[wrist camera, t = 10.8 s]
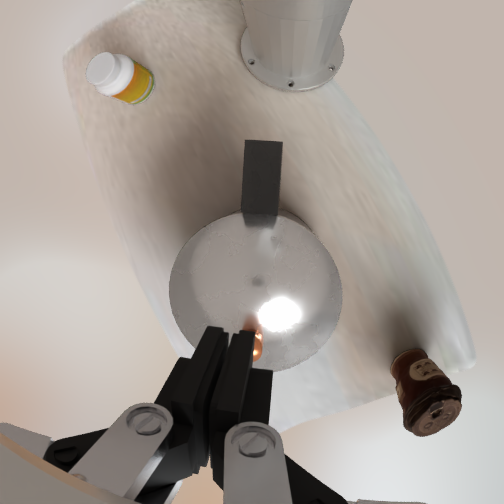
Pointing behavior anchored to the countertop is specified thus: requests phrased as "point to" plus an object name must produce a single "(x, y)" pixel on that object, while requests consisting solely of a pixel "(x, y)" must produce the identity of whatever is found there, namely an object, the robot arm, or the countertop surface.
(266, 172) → the cooker lid
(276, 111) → the countertop surface
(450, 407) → the coffee cup
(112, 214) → the countertop surface
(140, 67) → the supplement bottle
